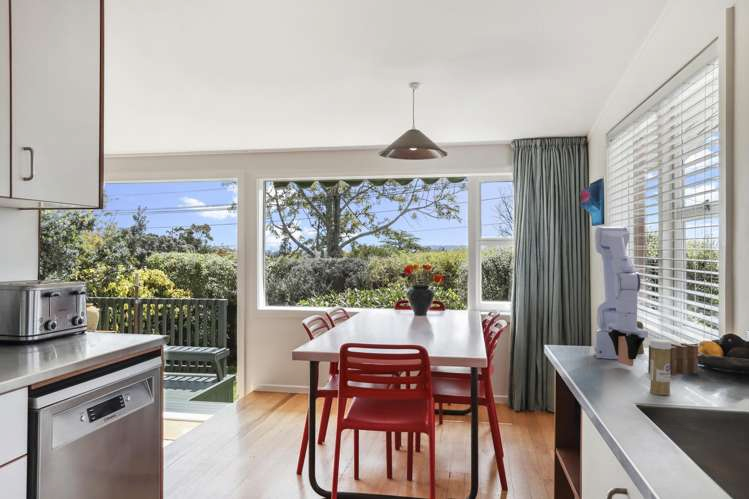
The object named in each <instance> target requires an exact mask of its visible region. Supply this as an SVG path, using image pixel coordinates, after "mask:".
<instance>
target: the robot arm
mask: <svg viewBox="0 0 749 499" xmlns="http://www.w3.org/2000/svg"><path fill="white" fill-rule="evenodd" d="M594 234H595V235H594V241H595V249H596V252H597V253H598V254H599V255H601V257H602V258H601V259H602V263H603V264H602V266H603V280H604V282H603V283H604V294H605V295H604V297H605V301H604V302H602V303H600V304H599V305H598V307H597V309H596V310H597V314H596V324H597V327H598V328H599V329H595V332H594V350H593V351H594V354H595V357H596V358H598V359H606V360H618V337H619V336H624V337H625V339H626V342H627V347H628V358H629V359H634V360H636V359H637V355H638V354H637V353H638V350H639V348H640V346H641V344H642V342H644V341H645V339H646V338H648V336H649V331H648V330H646V329H644V328H643V329H640V328H637V321H638V295H639V294H638V293H639V292H640V290H641V282H642V281H641V280H642V279H641V274H640V273H639V272H638V271H637V270H635V268H634V264H633V261H632V258H631V257H629V256H628V255H627V251H626V249H627V247H628V244H629V241H630V229H629V227H627V226H597V227H596V228H595V233H594ZM627 334H631V336H630V335H628V336H627Z"/></svg>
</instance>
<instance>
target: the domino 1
mask: <svg viewBox="0 0 749 499" xmlns="http://www.w3.org/2000/svg"><path fill="white" fill-rule="evenodd" d="M634 360H635V359H629V358H628V347H627V342H626V339H625V337H624V336H619V337H618V359H617V363H618V364H622V365H626V366H629V367H633V366H634V362H635V361H634Z"/></svg>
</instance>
